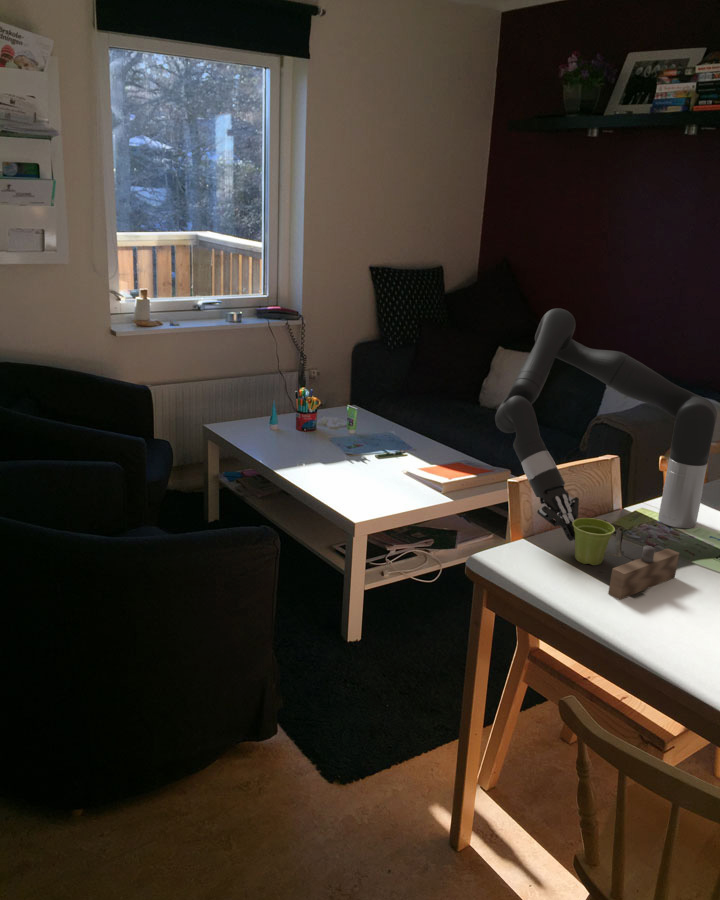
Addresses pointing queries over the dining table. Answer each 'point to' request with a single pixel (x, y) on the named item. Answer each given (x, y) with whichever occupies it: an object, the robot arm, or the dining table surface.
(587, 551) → the plant pot
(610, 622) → the dining table surface
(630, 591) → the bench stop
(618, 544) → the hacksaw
